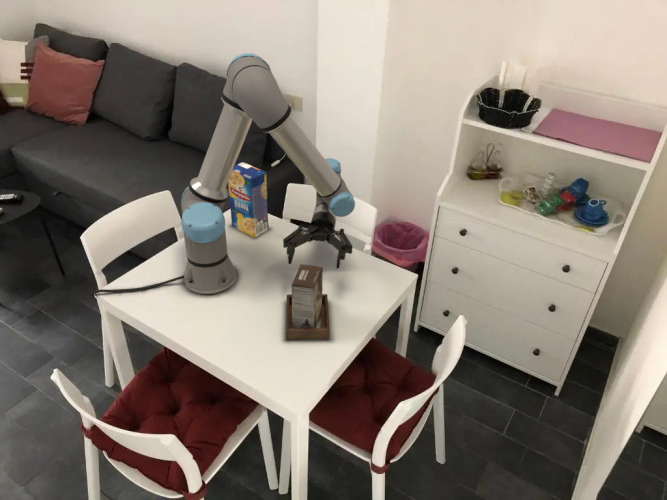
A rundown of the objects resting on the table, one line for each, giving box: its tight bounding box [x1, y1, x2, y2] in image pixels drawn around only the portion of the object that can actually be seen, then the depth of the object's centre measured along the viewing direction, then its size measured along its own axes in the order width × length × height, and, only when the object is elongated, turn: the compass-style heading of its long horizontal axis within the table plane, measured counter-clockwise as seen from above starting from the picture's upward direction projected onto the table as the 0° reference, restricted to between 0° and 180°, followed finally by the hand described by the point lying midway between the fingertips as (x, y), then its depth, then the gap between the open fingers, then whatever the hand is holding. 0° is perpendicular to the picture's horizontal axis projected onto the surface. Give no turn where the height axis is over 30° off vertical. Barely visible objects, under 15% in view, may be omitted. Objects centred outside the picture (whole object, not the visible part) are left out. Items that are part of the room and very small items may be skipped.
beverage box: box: [227, 161, 269, 238], centre depth 181 cm, size 7×11×22 cm, turn 52°
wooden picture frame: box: [285, 293, 331, 341], centre depth 149 cm, size 12×15×4 cm
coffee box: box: [291, 263, 324, 328], centre depth 145 cm, size 9×6×16 cm
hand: (313, 262), depth 151 cm, fingers open, 13 cm apart
